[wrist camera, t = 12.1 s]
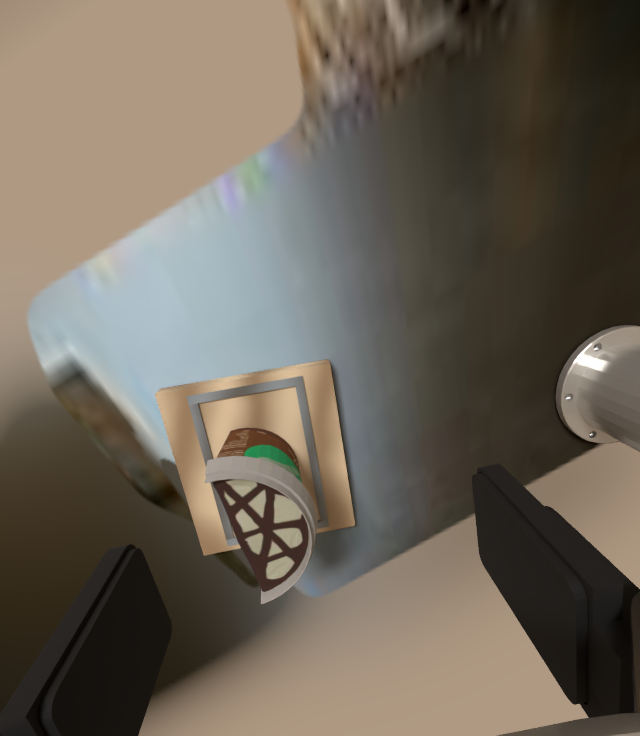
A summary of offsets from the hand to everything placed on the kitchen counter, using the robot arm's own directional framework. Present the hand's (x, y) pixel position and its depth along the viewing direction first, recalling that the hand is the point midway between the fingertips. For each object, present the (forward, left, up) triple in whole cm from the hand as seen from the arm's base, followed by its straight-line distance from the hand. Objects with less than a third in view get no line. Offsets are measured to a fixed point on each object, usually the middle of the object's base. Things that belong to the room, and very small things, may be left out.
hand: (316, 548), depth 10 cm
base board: (+5, +11, -26) cm, 28 cm away
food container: (+4, +11, -24) cm, 27 cm away
